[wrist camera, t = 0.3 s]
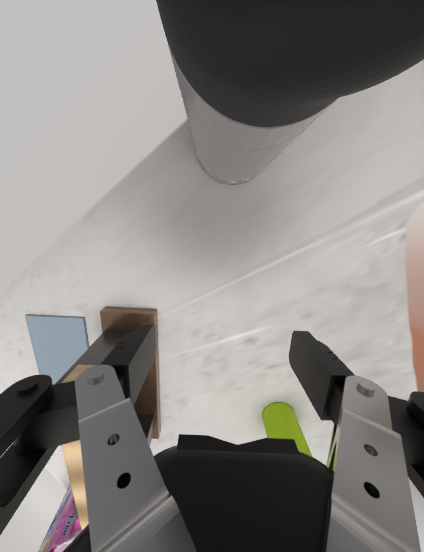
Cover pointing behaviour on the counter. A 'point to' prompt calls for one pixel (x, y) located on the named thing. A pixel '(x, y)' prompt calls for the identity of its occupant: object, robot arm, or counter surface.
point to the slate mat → (57, 342)
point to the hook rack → (114, 329)
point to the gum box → (62, 527)
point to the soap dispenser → (284, 425)
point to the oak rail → (76, 462)
